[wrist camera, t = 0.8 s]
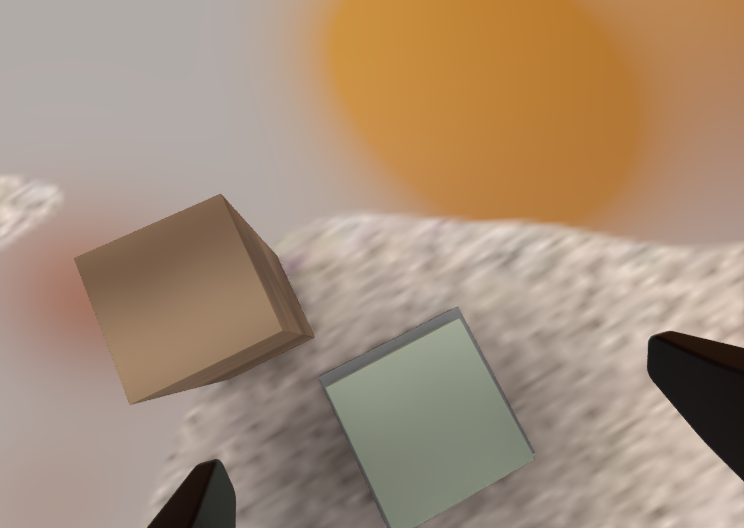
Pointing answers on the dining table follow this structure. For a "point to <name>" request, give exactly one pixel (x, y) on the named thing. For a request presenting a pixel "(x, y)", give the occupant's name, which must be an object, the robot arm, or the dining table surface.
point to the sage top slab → (428, 425)
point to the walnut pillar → (191, 301)
